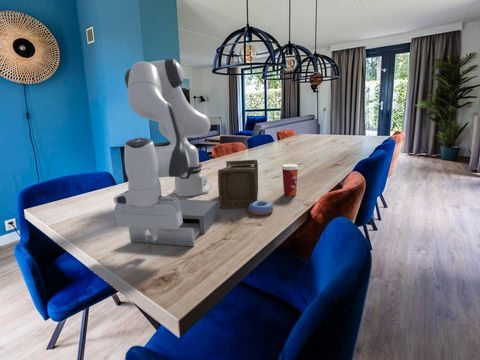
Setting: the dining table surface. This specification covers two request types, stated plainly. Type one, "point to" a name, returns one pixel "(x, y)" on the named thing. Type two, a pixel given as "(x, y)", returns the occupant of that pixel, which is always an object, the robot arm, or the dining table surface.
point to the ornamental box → (238, 184)
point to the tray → (168, 235)
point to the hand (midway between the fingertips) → (151, 239)
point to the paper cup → (290, 179)
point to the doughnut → (260, 208)
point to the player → (200, 212)
